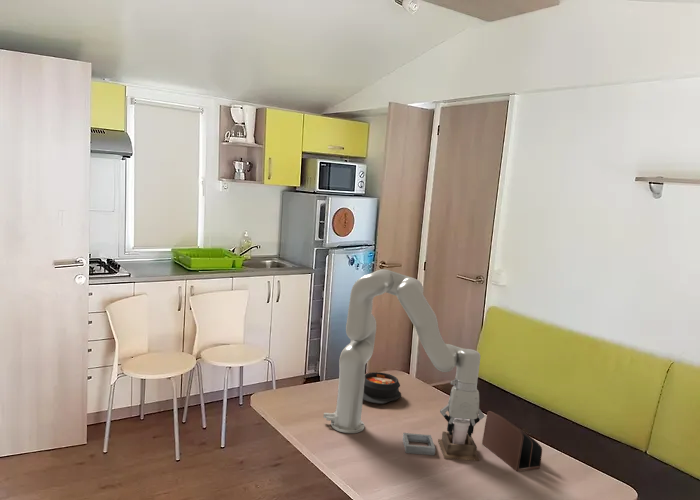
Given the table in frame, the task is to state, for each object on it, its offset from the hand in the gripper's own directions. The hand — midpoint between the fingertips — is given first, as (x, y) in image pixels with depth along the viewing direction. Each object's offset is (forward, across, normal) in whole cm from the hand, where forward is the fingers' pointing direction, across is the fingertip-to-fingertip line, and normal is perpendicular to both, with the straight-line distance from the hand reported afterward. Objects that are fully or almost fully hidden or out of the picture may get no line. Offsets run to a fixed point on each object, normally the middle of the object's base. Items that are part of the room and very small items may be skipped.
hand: (459, 433), depth 189 cm
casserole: (+7, -25, +44) cm, 51 cm away
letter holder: (+7, +19, 0) cm, 20 cm away
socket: (+6, 0, 0) cm, 6 cm away
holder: (+6, -14, 0) cm, 15 cm away
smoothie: (+5, 0, 0) cm, 5 cm away
